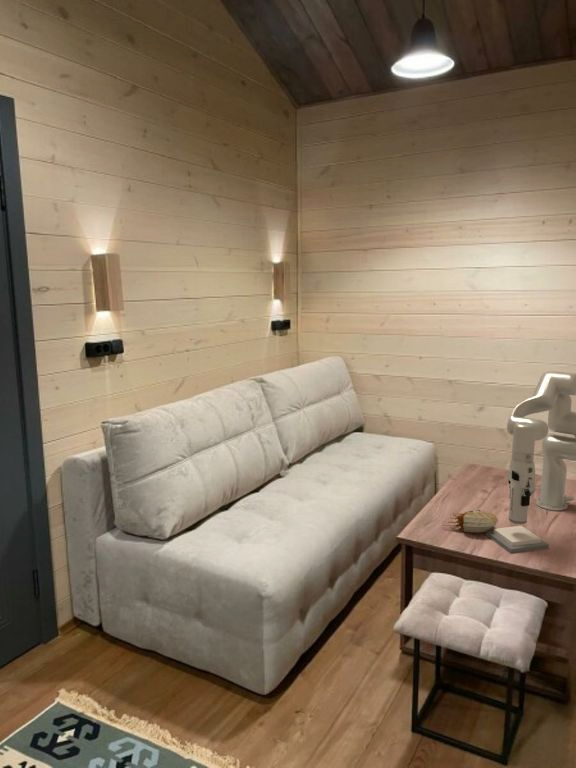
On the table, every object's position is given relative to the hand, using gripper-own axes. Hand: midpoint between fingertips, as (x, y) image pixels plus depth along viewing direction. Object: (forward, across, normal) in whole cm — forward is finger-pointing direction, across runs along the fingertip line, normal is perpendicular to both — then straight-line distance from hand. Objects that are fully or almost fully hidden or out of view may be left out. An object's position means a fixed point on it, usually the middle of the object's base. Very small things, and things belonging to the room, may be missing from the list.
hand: (519, 501), depth 219 cm
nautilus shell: (+16, +14, +12) cm, 24 cm away
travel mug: (+8, 0, 0) cm, 8 cm away
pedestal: (+16, 0, 0) cm, 16 cm away
